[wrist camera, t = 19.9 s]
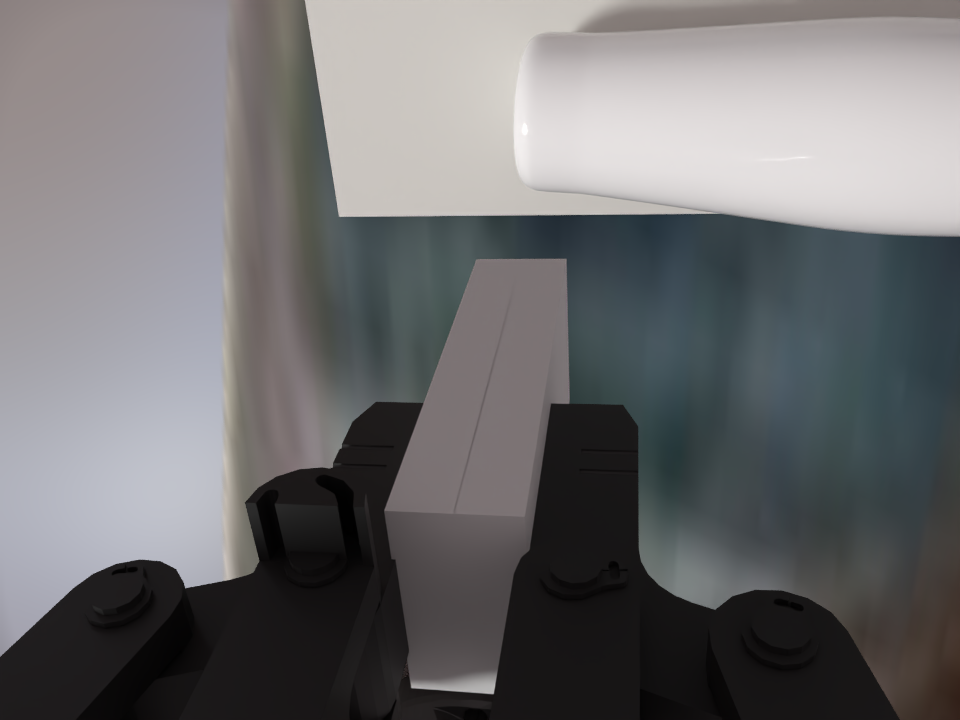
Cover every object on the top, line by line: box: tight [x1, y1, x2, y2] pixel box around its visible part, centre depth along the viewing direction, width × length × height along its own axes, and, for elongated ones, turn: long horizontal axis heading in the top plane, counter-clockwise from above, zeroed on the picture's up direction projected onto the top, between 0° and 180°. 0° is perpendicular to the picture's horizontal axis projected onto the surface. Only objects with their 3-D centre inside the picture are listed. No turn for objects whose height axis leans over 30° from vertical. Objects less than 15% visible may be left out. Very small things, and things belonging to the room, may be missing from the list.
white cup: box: [513, 16, 960, 237], centre depth 30 cm, size 7×7×15 cm
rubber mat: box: [305, 0, 960, 217], centre depth 33 cm, size 24×13×1 cm, turn 94°
